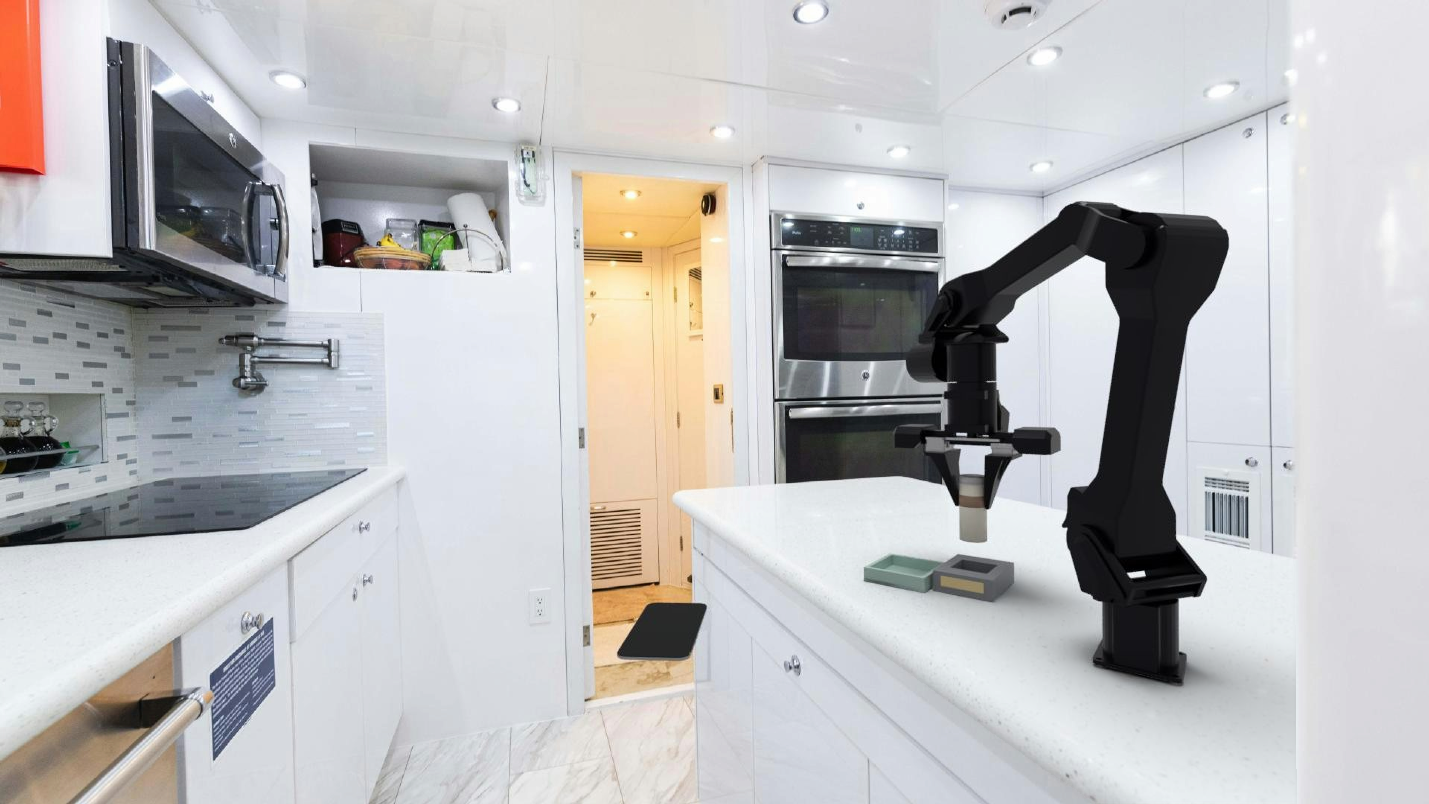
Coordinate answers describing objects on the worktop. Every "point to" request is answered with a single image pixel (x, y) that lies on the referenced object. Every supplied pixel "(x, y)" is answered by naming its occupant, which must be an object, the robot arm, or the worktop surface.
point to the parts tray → (902, 572)
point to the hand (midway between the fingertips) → (972, 507)
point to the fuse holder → (974, 577)
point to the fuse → (972, 508)
